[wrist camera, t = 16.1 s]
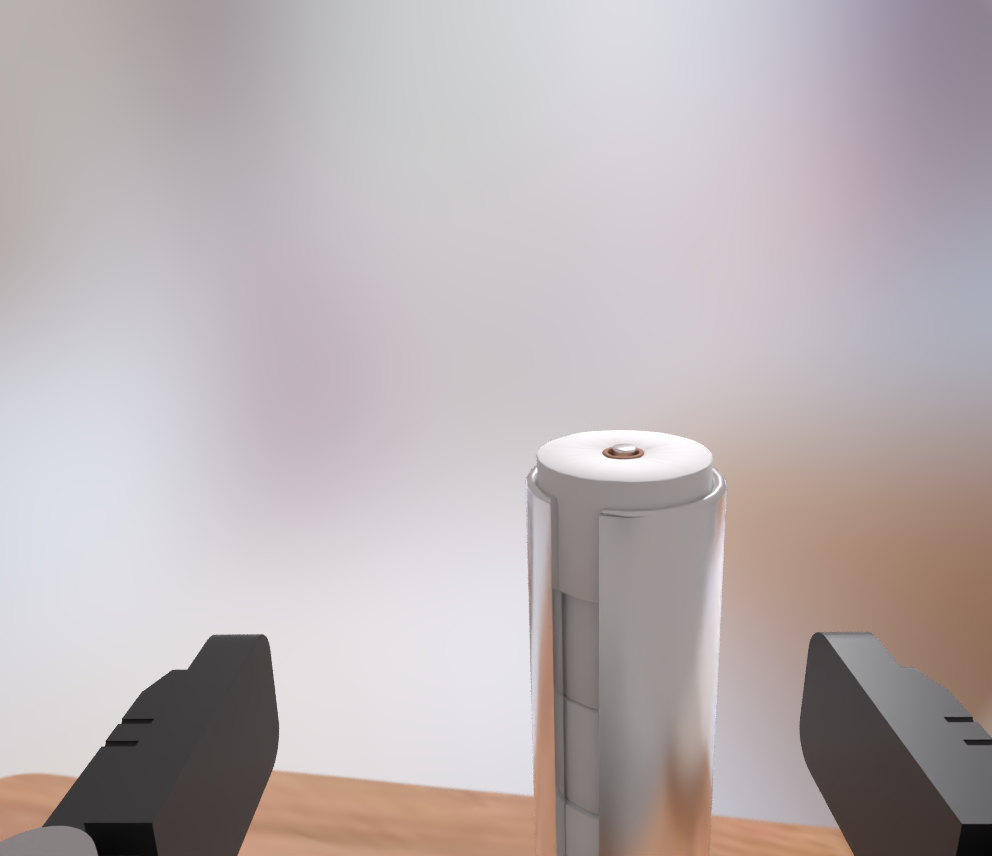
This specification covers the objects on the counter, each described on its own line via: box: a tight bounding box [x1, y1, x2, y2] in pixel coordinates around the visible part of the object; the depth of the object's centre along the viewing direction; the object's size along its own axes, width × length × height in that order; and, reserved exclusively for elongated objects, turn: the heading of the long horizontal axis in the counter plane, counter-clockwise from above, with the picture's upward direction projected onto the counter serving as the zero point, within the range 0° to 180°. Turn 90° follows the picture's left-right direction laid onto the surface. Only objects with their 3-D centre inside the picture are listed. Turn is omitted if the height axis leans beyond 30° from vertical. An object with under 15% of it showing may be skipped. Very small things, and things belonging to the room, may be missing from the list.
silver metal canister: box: [526, 430, 727, 856], centre depth 28 cm, size 6×6×25 cm
